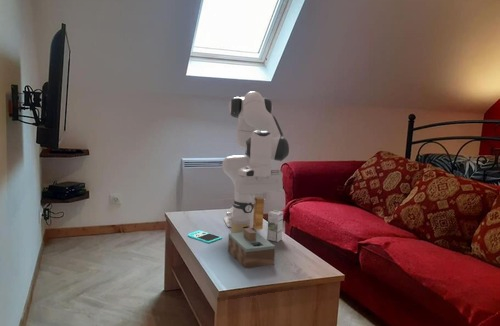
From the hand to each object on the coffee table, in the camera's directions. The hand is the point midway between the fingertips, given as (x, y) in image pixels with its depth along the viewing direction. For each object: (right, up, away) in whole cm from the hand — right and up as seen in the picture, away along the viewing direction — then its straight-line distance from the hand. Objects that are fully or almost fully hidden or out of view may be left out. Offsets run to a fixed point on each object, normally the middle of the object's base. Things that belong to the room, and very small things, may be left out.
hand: (258, 203), depth 169 cm
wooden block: (0, -11, +2) cm, 11 cm away
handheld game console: (-27, -21, +36) cm, 50 cm away
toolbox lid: (-3, -18, +8) cm, 20 cm away
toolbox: (-4, -25, +10) cm, 27 cm away
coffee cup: (-9, -22, +31) cm, 39 cm away
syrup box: (+9, -22, +36) cm, 43 cm away
